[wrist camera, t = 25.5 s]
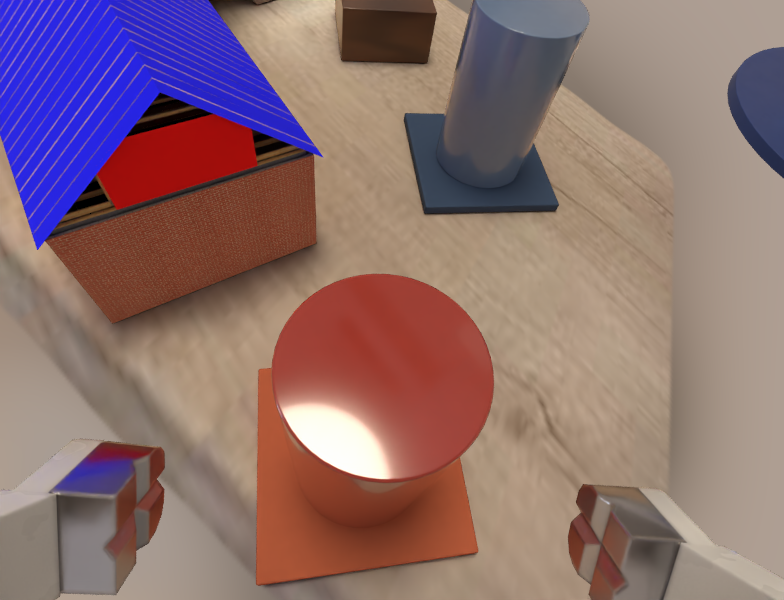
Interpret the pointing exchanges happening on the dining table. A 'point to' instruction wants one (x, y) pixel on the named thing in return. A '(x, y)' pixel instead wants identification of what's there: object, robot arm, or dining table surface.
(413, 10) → the riser
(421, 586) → the dining table surface
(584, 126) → the dining table surface
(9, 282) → the dining table surface
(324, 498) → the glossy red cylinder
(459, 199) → the blue mat
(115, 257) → the house
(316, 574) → the red mat
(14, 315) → the dining table surface
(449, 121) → the blue canister
